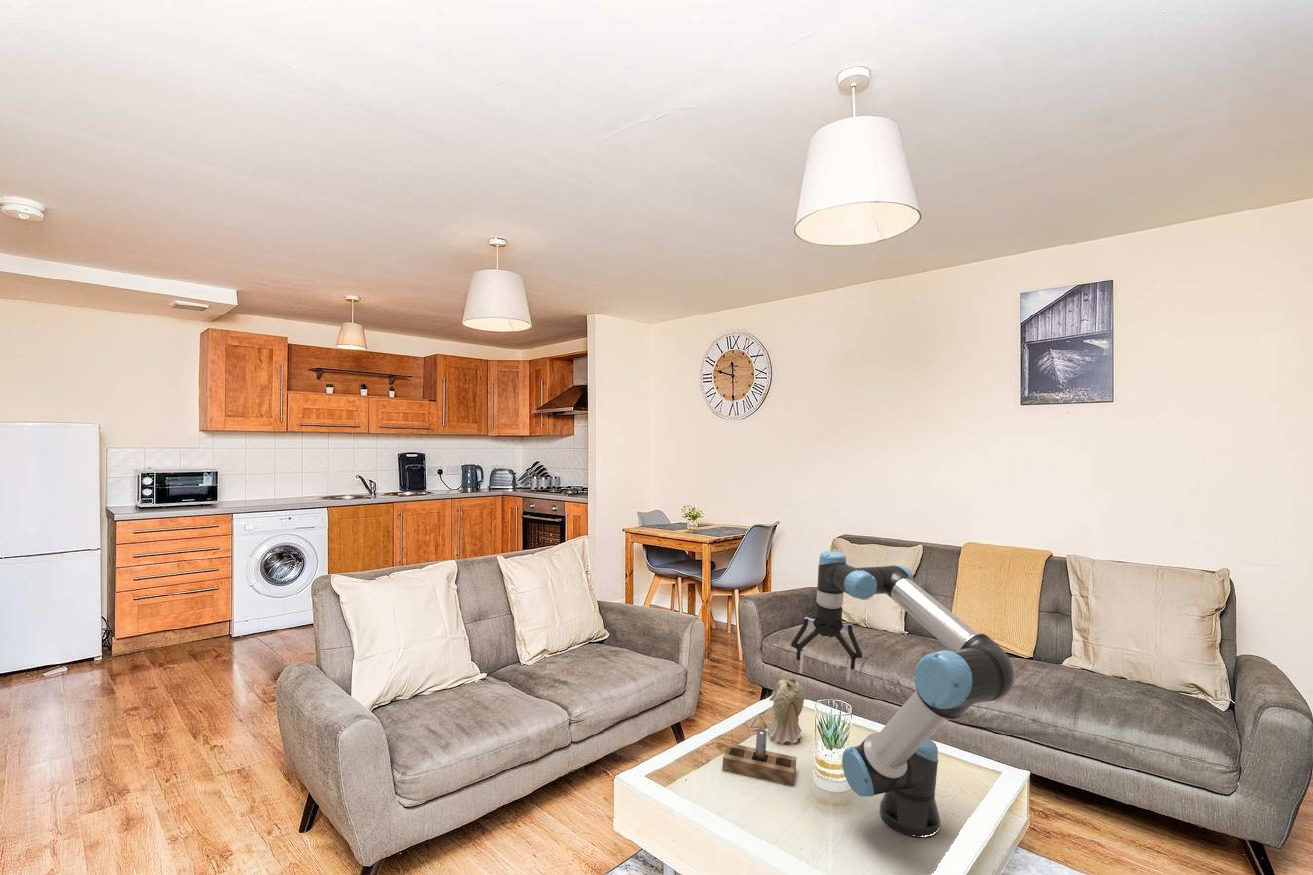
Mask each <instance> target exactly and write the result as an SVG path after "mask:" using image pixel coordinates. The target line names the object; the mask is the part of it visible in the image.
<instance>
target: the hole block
mask: <svg viewBox="0 0 1313 875" xmlns="http://www.w3.org/2000/svg"><path fill="white" fill-rule="evenodd" d="M755 753H756V747H750V746H746V745H741V744H738V743H737V744H735V743H730V742H728V744H727V747H726V749H725V752H724V754H723V757H722V768H721V770H722V771H724V772H728V773H733V774H737V775H743V776H746V777H751V778H756V779H760V780H763V781H769V782H773V783H778V784H782V785H786V786H791V787H793V786H794V782H795V777H796V771H797V756H795V755H794V756H793V755H788V754H784V753H778V752H774V751H771V750H770V751H769V750H766V755H765V762H761V761H756V760H755Z"/></svg>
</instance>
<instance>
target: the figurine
mask: <svg viewBox="0 0 1313 875" xmlns="http://www.w3.org/2000/svg"><path fill="white" fill-rule="evenodd" d="M777 687H778V689H777V691H776V692H775V693H774V695H770V697H769V701H770V702H771V701H772V702H773V705H772V709H773V714H774V715H773V719H772V723H771V724H770V725H768V726H767V735H768V737H769V739H770V741H771V742H773V743H775V744H776V745H779V746H785V747H794V746H798V745H801V744H802V742H801V739H802V738H803V737H802V735H801V732H802V729H801V727H800V725H799V719H800V718H799V717H800V715H801V713H802V711H803V708H804V703H805V702H804V701H805V698H804V689H803V687H802V686H801V684H800V683H799V682H798V680H796V679H795V678H791V679H788V680H787V679H784V678H782V679H779V680H778V682H777ZM787 742H788V743H787Z"/></svg>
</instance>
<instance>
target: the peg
mask: <svg viewBox="0 0 1313 875" xmlns="http://www.w3.org/2000/svg"><path fill="white" fill-rule="evenodd" d="M767 736H768V730H767V731H766V729H764V728H763V729H761V728H759V729H757V730H756V741H755V748H756V753H755V760H756V761H761V762H765V755H766V751H767V741H768V740H767V738H768V737H767Z"/></svg>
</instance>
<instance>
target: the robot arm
mask: <svg viewBox="0 0 1313 875" xmlns="http://www.w3.org/2000/svg"><path fill="white" fill-rule="evenodd" d="M817 565H818V570H817V588H816V604H815V616H814V618H810V617H809V616H805V617H804V620H803V623H802V625H801V626H800V629H799V630H798V631H797V633H796V634H795V636H794V638H793V639H792V641H791V643H790V647H792V648H794V649H796V661H798V662H799V670H798V671H799V673H800V674H802V673H803V669H804V656H805V655H804V654H805V647H806V646H807V645H808V644H809V643H810V642H811V641H812V640H813V639H815V638H816V637H818V635H820V636H821V637H829V638H834V637H835V638H836V640H838V641H839V643H840V645H841V646H842V647H843V648H844V650H845V652H846V653H847V654H848V659H847V660H848V661H847V670H846V671H847V672H846V673H847V675H846V681H847V682H850V681H851V679H850V678H851V670H853V671H854V670H855V668H856V660H857V659H862V658H863V653H862V649H861V648H860V645H859V642H858V639H857V637H856V636H855V635H856V634H854V631H853V623H851V622H848V623H843V622H842V620H843V605H844V604H843V603H844V594H848V595H849V596H851V597H853V598H854V599H859V600H862V601H865V600H866V601H867V600H869V599H871V597H873V596H874V595H882V594H883V595H884V594H886V595H887V596H888V597H890V598H891V600H893V601H894V602H895V603H897V605H898V606H900V607H901V608H902V609H903V610H904V611H905V612H906V613H908V614H909V615H910V616H911V617H912V618H913V619H914V620H916V621H917V622H918V623H919V624H920V625H921V626H922V627H924V629H926V630H927V631H928V632H929V633H930V634H931V635H933V637H935V638H936V639H937V640H938V641H939V642H940V643H942V644H943V645H944V646H945V647H946V648H947V649H949V650H938V651H935V652H932V653H928V654H925V655H924V656H922V657H921V658H920V660H919V661H918V662H917V664H916V666H915V669H914V674H915V675H916V676H914V678H913V679H914V681H913V682H914V689H915V691H914V692H913V693H912V695H910V697H909V698H908V699H907V701H906V702H905V703H904V704H903V705H902V706H901V707H900V708H899V709H898V710H897V712H896V713H895V714H894V715H893V717H892V718H891V719H890V720H889V721H888V722H887V723H886V725H885V726H884V727H883V728H882V729H881V730H880V731H879V732H873V733H870V734H869V735H867V736H866V737H865V739H864V740H863V741H862V742H861V743H860V744H859V745H857V746H850V747H847V748H846V749H844V751H843V752H842V758H841V765H842V771H843V773H844V777H845V779H846V781H847V782H846V783H847V784H848V786H849V787H850V789H851V790H852V791H853V792H854V793H855V794H857V795H858V796H859V797H863V798H864V797H866V798H867V797H873V796H876V795H881V794H884V795H883V797H882V799H881V801H880V806H879V807H880V808H879V815H880V818H881V819H882V820H883V821H884V823H885V824H886V825H888V826H889V827H890V828H891V829H893V830H894V831H897V832H899V833H901V834H904V835H906V834H908V835H907V836H909V835H915V836H922V835H923V836H925V835H930V834H933V833H934V832H936V831H937V830H938V828H939V829H940V827H939V826H940V825H941V819H940V814H939V810H938V806H937V803H936V802H937V801H936V798H935V797H936V785H937V776H938V775H937V773H938V763H939V751H938V746H937V744H936V743H935V742H934V741H933V740H932V739H931V738H930V737H931V736H932V735H933V734H934V733H935V732H936V731H937V730H939V728H940V727H941V726H942V725H943V724H944V723H945V722H946V721H947V720H948V721H955V720H958V719H959V718H961V717H962V716H963V715H964V713H966V712H967V710H968V709H970V707H971V706H973V705H976V704H979V703H987V702H993V701H997V700H1000V699H1002V698H1004V697H1005V696H1006V695H1007V694H1009V692H1010V691H1011V689H1012V687H1013V685H1014V682H1015V671H1014V667H1013V663H1012V661H1011V659H1010V657H1009V655H1008V654H1007V652H1005V651H1004V649H1003V648H1002V647H1001V646H1000V645H999V644H998V643H997V642H996V641H994V639H992V638H991V637H990V636H988V635H987V634H986V633H982V632H976V631H975V630H974V629H973V628H971V627H970V626H969V625H968V624H966V623H965V622H964V621H963V620H962V619H961V618H960V617H958V616H957V615H956V614H954V613H953V612H952V611H951V610H949V609H948V608H946V607H945V606H944V605H943V604H942V603H941V602H939V601H938V600H937V599H936V598H934V597H933V596H932V595H931V594H929V593H928V592H927V591H925V590H924V589H923V588H922V587H920V586H919V585H918V584H917V583H915V581H914V575H913V574H912V572H911V570H910V569H909V568H908V567H907V566H904V565H886V566H885V565H884V566H868V567H864V566H863V567H854V566H852V565H849V564H847V556H846V555H845V554H844V553H843V552H839V551H833V550H830V551H829V550H828V551H823V552H821V553H820V554H819V561H818V564H817ZM811 625H813V626H814V627H815V628H814V629H813V630H812V631H811V632H810V633H809V634H808V635H807V636H805V637H804V639H802V640H800V639H801V637H802V636H803V635H804V633H805V632H806V630H807V627H810V626H811ZM842 629H844V631H845V632H847V635H848V636H849V639H850V641H851V644H852V645H853V648H854V650H853V648H852V647H851V645H850V644H849V643H848V641H847V640H846V638H845V637H844V636H843V635H842V632H841V630H842ZM799 641H800V642H799Z"/></svg>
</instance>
